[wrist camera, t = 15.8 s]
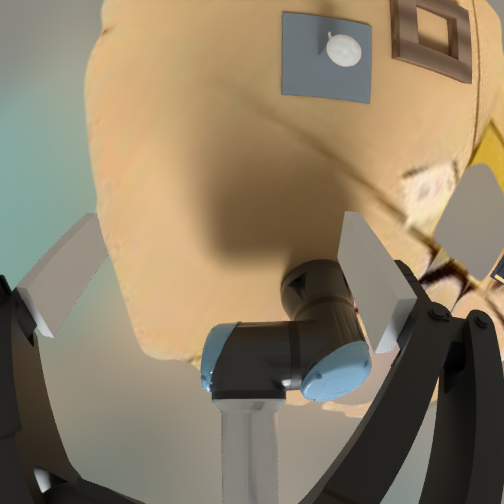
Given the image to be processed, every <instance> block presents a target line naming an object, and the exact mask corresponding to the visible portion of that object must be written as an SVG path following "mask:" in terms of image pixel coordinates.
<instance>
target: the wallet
mask: <svg viewBox="0 0 504 504" xmlns="http://www.w3.org/2000/svg"><path fill="white" fill-rule="evenodd" d="M490 277H492V278H493V279H495V280H497V281H498V282H500V283H501V284H503V285H504V255H503V257H502V259H501V260H500V262H499V263H498V265H497V266H496V268H495V269H494V271H493V273H492V274H491V275H490Z"/></svg>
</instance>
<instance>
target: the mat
mask: <svg viewBox="0 0 504 504" xmlns="http://www.w3.org/2000/svg"><path fill="white" fill-rule="evenodd" d="M329 31H330V33H331V38H332V37H333V36H335V35H347V36H350V37H352V38H353V39H354V40H356V41H357V43H358V44H359V45H360V47H361V58H360V60H359V61H358V63H356V64H355V65H353V66H349V67H342V66H340V67H329V66H325V65H323V64H322V63H321V62H320V60H319V57H318V55H319V53H320V50H321V49H322V48H323V47H324V46H325V45H326V44H327V42H328V41H329V36H328V32H329ZM370 89H371V26H369V25H365V24H361V23H356V22H351V21H346V20H341V19H335V18H329V17H322V16H314V15H306V14H295V13H282V95H299V96H312V97H322V98H331V99H340V100H347V101H354V102H360V103H367V104H370Z"/></svg>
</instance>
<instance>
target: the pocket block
mask: <svg viewBox="0 0 504 504" xmlns="http://www.w3.org/2000/svg"><path fill="white" fill-rule="evenodd" d="M416 7H419V8H421V9H424V10H426V11H429V12H431V13H433V14H435V15H438V16H440V17H442V18H444V19H446V20H447V24H448V39H449V56H448V55H446V54H443V53H441V52H438V51H436V50H433V49H431V48H428V47H426V46H423V45H420V44H418V23H417V10H416ZM390 10H391V29H392V58H393V59H396V60H400V61H403V62H407V63H410V64H413V65H416V66H419V67H422V68H425V69H428V70H431V71H434V72H436V73H439V74H442V75H444V76H447V77H449V78H452V79H454V80H457V81H459V82H461V83H468V84H472V49H471V33H470V22H469V14H468V10H466V9H464V8H463V7H461V6H459V5H457V4H455V3H453V2H451V1H449V0H390Z"/></svg>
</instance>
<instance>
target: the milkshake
mask: <svg viewBox="0 0 504 504" xmlns="http://www.w3.org/2000/svg"><path fill="white" fill-rule="evenodd" d="M328 36H329V41H328V42H327V44H326V45H325V46H324V47H323V48H322V49H321V50H320V53H319V55H318V57H319V60H320V62H321V63H322V64H323V65H325V66H329V67H340V66H342V67H349V66H353V65H355V64H356V63H358V61H359V60H360V58H361V47H360V45H359V44H358V43H357V41H356V40H354V39H353V38H352V37H350V36H347V35H335V36H333V37H332V38H331V33H330V31H329V32H328Z"/></svg>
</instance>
